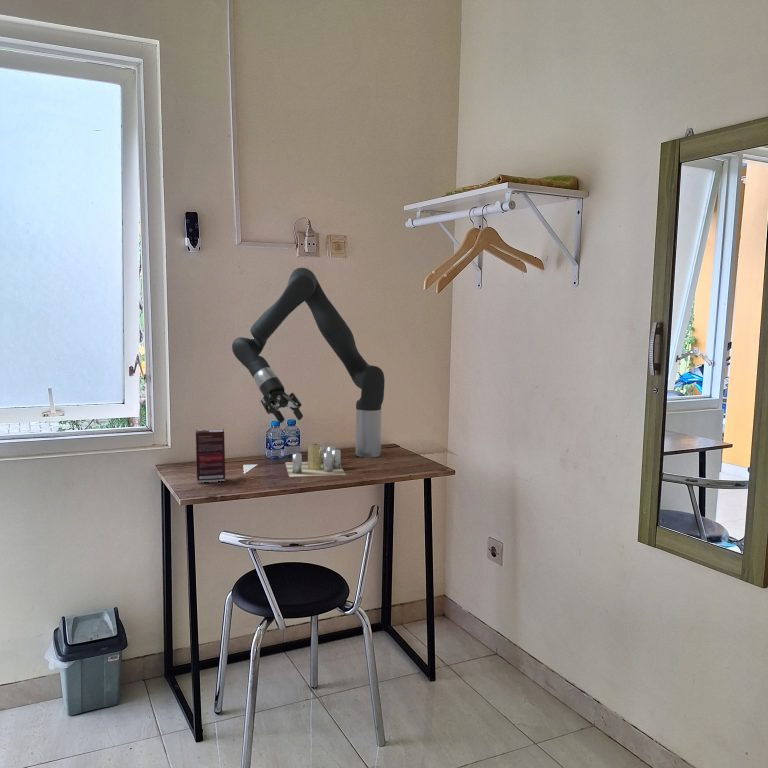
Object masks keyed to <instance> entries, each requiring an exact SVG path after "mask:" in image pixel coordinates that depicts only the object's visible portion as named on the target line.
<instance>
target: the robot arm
mask: <svg viewBox="0 0 768 768" xmlns="http://www.w3.org/2000/svg"><path fill="white" fill-rule="evenodd" d="M317 278H318V277H316V275H315V274H314V272H313V271H312V270H310V269H309V268H306V267H297V268H296V269H294V270H293V271H292V272H291V274H290V276H289V279H288V282H287V286H286V287H285V289H284V291H283V292H282V293H281V295H280V296H279V298H278V299H277V300H275V303H273V304H272V305H271V306H270V307H269V308H267V309H266V310H265V311H264V312H263V313H262V314H261V316H259V317H258V319H257V320H256V321H255V322H254V323H253V324H252V326H251V328H250V333H251V336H253V337H254V339H250V338H248V337H236V338H235V339H234V340H233V341H232V344H231V350H232V353H233V355H234V356H235V358H236V359H237V360H238V361H239V362H240V363H241V365H243V366H244V367H245V368H246V369H247V371H248V372H249V373H250V375H251V377H252V378H253V380H254V382H255V384H256V386H257V388H258V389H259V391H260V392H261V395H262V396H263V397H262V398H261V400H260V403H261V404H262V407H263V408H264V410H265V413H266V414H268V415H270V414H272V415H273V416H274V417H275V419H276V420H277V421H278V422H279V424H282V423H283V422H285V420H286V419H285V417H284V415H283V413H282V412H281V411H280V410H279V409H281V408H282V409H284V408H285V409H286V410H290V411H292V413H293V415H294V416H295V418H296V419H297V420H298V421H301V420H302V419H303V417H304V415H303V413H302V411H301V410H300V407H302V403H301V402H300V400H299V399H298V398H297V396H296V395H295V393H294V392H291V393H290V394H287V393H286V392H285V386H284V384H283V383H282V381H281V380H280V378H279V377H278V375H277V374H276V373H275V371H274V370H273V369H272V367H271V365H270V364H269V363H268V361H267V359H265V357H263V356H261V353H262V351H263V349H264V348H265V346H266V344H267V341H268V339H270V337H271V336H272V335H273V334H274V333H275V332H276V330H277V329H278V328H279V327H280V326H281V324H282V323H283V322H284V321H285V320H286V318H287V317H288V316H289V315H290V314H291V313H292V312H293V311H294V310H296V308H298V307H299V306H300V305H302V304H303V303H306V305H307V306H308V308H309V309H310V312H311V314H312V316H313V319H314V321H315V324H316V326H317V327H318V330H319V332H320V333H321V335H322V337H323V338H324V340H325V341H326V342H327V344H328V346H330V348H331V349H332V350H333V352H334V353H335V355H336V356H337V357H338V359H339V360H340V361H341V362H342V364H343V365H344V367H345V369H346V371H347V373H348V374H349V376H350V379H351V380H352V382H353V383H354V385H355V386H356V387H357V388H358V389H361V393H360V398H359V399H358V400H356V402H355V453H354V454H355V457H358V456H359V457H358V458H365V459H366V458H370V459H371V458H378V457H381V450H382V449H381V446H382V405H383V402H384V398H385V374H384V372H383V370H382V368H380V367H379V366H376V365H371V364H369V363H368V362H367V361H366V359H364V358H363V356H362V355H361V353H360V352H359V350H358V347H357V345H356V339H355V338H354V335H353V332H352V329H350V327H349V325H348V324H347V322H346V321H345V320H344V318H343V317H342V316H341V314H340V313H339V311H338V310H337V309H336V307H335V306H334V305H333V304H332V302H331V301H330V300H329V298H328V296H327V294H325V291H324V289H323V288H322V286H321V285H320V282H319V281H318V279H317Z"/></svg>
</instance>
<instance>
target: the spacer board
mask: <svg viewBox="0 0 768 768" xmlns="http://www.w3.org/2000/svg"><path fill="white" fill-rule="evenodd" d="M284 464H285V468H286V470H287V475H288V477H290V478H293V477H294V478H295V477H296V478H297V477H325V476H326V477H327V476H346V475H347V474H346V472H345V471H344V468H343V467H342V466H341V468H340V469H333V471H332V472H323V464H321V469H320V470H311V469H308V461H302V473H300V474H294V473H293V461H290V462H289V461H287V462H284Z"/></svg>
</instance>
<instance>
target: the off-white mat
mask: <svg viewBox="0 0 768 768" xmlns="http://www.w3.org/2000/svg"><path fill="white" fill-rule="evenodd" d="M258 465H259V464H254V463H253V464H243V466H242V467H243V469H242V470H243V471H244V472H243V474H244V475H245V474H246V473H247V472H249V471H251V470H252V469H253V468H255V467H256V466H258Z"/></svg>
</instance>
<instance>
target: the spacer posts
mask: <svg viewBox="0 0 768 768" xmlns="http://www.w3.org/2000/svg"><path fill="white" fill-rule="evenodd" d="M341 451H342V450H341V449H337V447H336V446H335V445H327V444H323V443H321V464H323V472H332V471H333V469H340V468H341V467H342V466H341V461H342V459H341V457H342V456H341V455H342V454H341V453H342V452H341ZM292 462H293V473H294V474H300V473H302V462H303V453H299V452H298V453H297V452H296V453H292Z"/></svg>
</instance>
